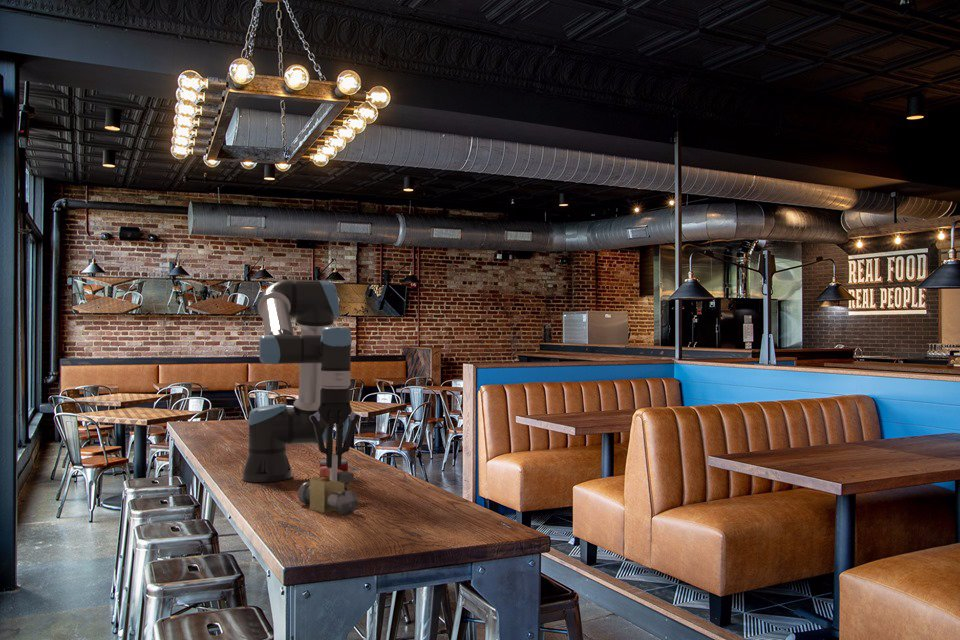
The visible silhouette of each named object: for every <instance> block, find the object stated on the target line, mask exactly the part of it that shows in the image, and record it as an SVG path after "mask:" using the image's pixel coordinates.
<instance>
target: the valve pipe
mask: <svg viewBox="0 0 960 640" xmlns="http://www.w3.org/2000/svg"><path fill="white" fill-rule="evenodd" d="M297 498H298V500H299V502H300V503H301V504H304V505H309V510H312V511H315V512H319V513H322V514H327V513H331V512H336V511H337V512H338V513H339V514H342V515H344V516H349V515H351V514H353V513H354V512H355V511H356V509H357V507H358V504H359V501H358V500H359V498H358V495H357V494H356V493H355V492H354V491H353V490H352V491H351V490H348V491H344V483H341V482H338V481H331V480H330V478H329V477H326V476H323V477H320V476H319V477H315V478H314V477H312V478H310V479H309V481H305V482H303V483H302V484H301V485H300V486H299V488H298V490H297Z"/></svg>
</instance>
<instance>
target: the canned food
mask: <svg viewBox="0 0 960 640" xmlns="http://www.w3.org/2000/svg"><path fill="white" fill-rule="evenodd" d="M323 466H326V458H324V459H323V458H322V459H320V461H319V468H320V467H323ZM337 469H339V470H342V471H347V472H349V462H348V459H346V458H342V461H341V467H337ZM319 477H323V476H320V475H319ZM348 483H349V482H347V483H344V491H349V486H348V485H349V484H348Z"/></svg>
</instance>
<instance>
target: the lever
mask: <svg viewBox="0 0 960 640" xmlns="http://www.w3.org/2000/svg"><path fill="white" fill-rule="evenodd" d="M354 475H355V474H354V473H352V472H349V471H348V472H347V471H342V470H339V469H337V481H338V482H341V483H347V482H348V483H354V482H355V479H354V478H355V477H354ZM320 476H326V477H329V478H330V468H328V467H327V466H323V467H320V466H319V477H320Z"/></svg>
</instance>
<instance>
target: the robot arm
mask: <svg viewBox="0 0 960 640" xmlns="http://www.w3.org/2000/svg"><path fill="white" fill-rule="evenodd" d="M257 313H259V316H260V317H261V318H262V322H263V323H262V324H263V330H264V335H261V336H260V337H259V343H258V344H259V345H258V348H259V349H258V353H259V354H258V355H259V356H258V357H259V358H258V359H259V362H260V363H261V364H267V365H268V364H269V365H270V364H271V365H282V364H283V365H289V364H291V365H292V364H299V372H298V373H299V376H298V378H299V379H298V398H296V400H294V401H293V408H292V407H291V408H290V407H289V408H287V404H285V403H278V404H277V403H275V404H269V405H264V406H259V407H255V408H252V409H251V410H250V411H249V413H248V423H247V425H248V454H247V458H246V462H245V464H244V467H243V471H242V480H243V481H245V482H249V483H272V482H281V481H285V480H289V479H290V478H292V468H291V465H290V462H289V459H288V455H287V446H288V445H302V444H303V445H304V444H306V445H307V444H314V445H315V444H317V446H318V451H319V452H320V453H322V454H324V455H325V456H326V457H325V459H326V466H327V467H328V468H330V480H331V481H337V467H341V461H342V457H343V454H345V453H349V451H350V448H351V444H352V441H353V437H354V434H355V429H356V426H357V423H358V422H359V420H360V418H361V415H360V414H357V413H355V412H354V411H353V408H352V406H351V389H350V388H349V387H350V386H351V366H352V365H351V359H352V343H353V340H352V331H351V329H350V328H349V327H345V326H344V327H343V326H339V327H337V326H333V325H334V319H338V318H339V317H340V302H339V296H338V291H337V287H336V285H335V283H334V282H331V281H327V280H321V279H319V280H316V279H315V280H313V279H312V280H308V279H307V280H301V279H300V280H297V279H295V280H291V279H286V280H284V279H283V280H279V281H277V282H275V283H272V284H271V285H269V286H267V287H266V288H265V289H263V291H262V292H261V293H260V295H259V297H258V300H257ZM291 318H295V323H296V325H298V326H299V328H300V334H294V330H293V326H292V321H291ZM348 417H349V419H348ZM347 419H348V420H349V423H348V426H347V430H346V434H345V437H343V436H344V435H343V434H344V423H345V422H346V421H347ZM334 427H335V453H333V449H334V448H333V447H334V446H333V445H334V444H333V443H334ZM343 439H344V441H343Z"/></svg>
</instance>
